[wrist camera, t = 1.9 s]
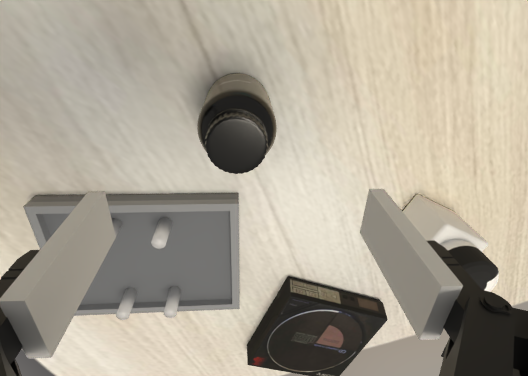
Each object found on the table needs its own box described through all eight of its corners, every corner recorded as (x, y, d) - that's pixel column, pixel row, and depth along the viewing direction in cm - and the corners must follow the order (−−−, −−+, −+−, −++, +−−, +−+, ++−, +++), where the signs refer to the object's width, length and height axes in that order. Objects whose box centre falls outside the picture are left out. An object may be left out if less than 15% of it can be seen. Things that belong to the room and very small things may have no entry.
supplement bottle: (241, 57, 32) (243, 80, 22) (281, 108, 35) (301, 150, 25) (192, 101, 34) (172, 141, 23) (234, 146, 37) (233, 200, 26)
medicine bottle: (383, 232, 45) (428, 300, 34) (416, 192, 42) (476, 253, 31) (421, 248, 47) (474, 317, 36) (455, 211, 44) (523, 274, 33)
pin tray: (74, 301, 47) (56, 334, 42) (35, 195, 38) (6, 222, 33) (239, 295, 49) (239, 326, 44) (238, 193, 40) (238, 218, 35)
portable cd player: (379, 296, 52) (389, 317, 48) (329, 358, 59) (335, 380, 56) (288, 272, 48) (292, 293, 44) (247, 342, 55) (247, 364, 51)
